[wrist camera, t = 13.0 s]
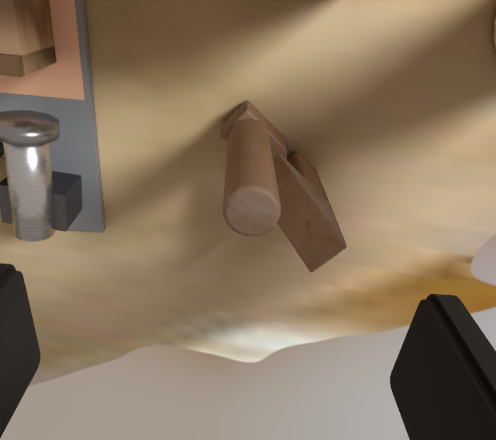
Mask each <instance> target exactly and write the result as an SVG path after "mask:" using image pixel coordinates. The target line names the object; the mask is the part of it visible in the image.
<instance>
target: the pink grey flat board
mask: <svg viewBox="0 0 496 440" xmlns="http://www.w3.org/2000/svg"><path fill="white" fill-rule="evenodd" d="M49 3H50V11H51V20H52V28H53V37H54V45H55V53H56V63H54V64H51V65H49V66H46V67H44V68H41V69H39V70H37V71H34V72H32V73H29V74H27V75H25V76H22V77H13V76H3V75H0V112H3V111H12V110H27V111H37V112H42V113H46V114H50V115H52V116H54V117H56V118H57V119H58V120H59V125H60V137H59V138H58V139H57V140H56V141H54V142H51V143H50V146H51V163H52V171H57V172H63V173H69V174H75V175H82V210H81V212H80V213H79V215H78V216H77V217H76V219H75V220H74V222H73V223H72V224H71V226H70V227H69V229H68V230H76V231H89V232H102V233H103V231H104V230H105V217H104V206H103V195H102V184H101V173H100V162H99V151H98V140H97V129H96V118H95V107H94V96H93V85H92V74H91V63H90V52H89V41H88V30H87V19H86V8H85V0H49ZM1 143H3V142H1ZM4 157H5V155H4Z"/></svg>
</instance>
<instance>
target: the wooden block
mask: <svg viewBox="0 0 496 440" xmlns="http://www.w3.org/2000/svg"><path fill="white" fill-rule="evenodd" d="M221 137H222V138H223V139H224V140H225V141H226V142H227V143H228V144H229V145H228V156H227V167H226V178H225V189H224V201H223V215H224V218H225V220H226V222H227V224H228V225H229V226H230V227H231V228H232V229H233V230H234V231H236V232H238V233H239V234H243V235H246V236H257V235H261V234H264V233H266V232H268V231H269V230H271V229H272V228H273V227H274V225H275V224H276V223H278V224H279V226H280V227H281V229H282V230H283V232H284V233H285V235H286V236H287V238H288V239H289V241H290V242H291V244H292V245H293V247H294V248H295V250H296V251H297V253H298V254H299V256H300V257H301V259H302V260H303V262H304V263H305V265H306V266H307V268H308V269H309V271H310V272H313V271H315V270H316V269H318V268H319V267H320V266H322V265H323V264H324V263H326V262H327V261H329V260H330V259H331V258H333V257H334V256H335V255H337V254H338V253H339V252H341V251H342V250H344V249H345V248H346V246H347V245H346V243H345V240H344V238H343V235H342V233H341V230H340V228H339V225H338V223H337V220H336V218H335V215H334V213H333V210H332V208H331V205H330V203H329V201H328V198H327V196H326V193H325V191H324V188H323V186H322V183H321V181H320V178H319V176H318V173H317V171H316V170H315V169H314V168H313V167H312V166H311V165H310V164H309V163H308V162H307V161H306V160H305V159H304V158H303V157H302V156H301V155H300V154H299V153H298V152H294V153H293V154H292V155H291V156H290V157H289V158H287V147H286V143H285V139H284V137H283V136H282V135H281V134H280V133H279V132H278V131H277V130H276V129H275V128H274V127H273V126H272V125H271V124H270V123H269V122H268V120H267V119H266V118H265V117H264V116H263V115H262V114H261V113H260V112H259V111H258V110H257V109H256V108H255V107H254V106H253V105H252V104H251V103H250V102H249V101H245V102H244V103H243V104H242V105H241V106H240V107H239V108H238V109H237V110H236V111H235V112H234V113H233V114H232V115H231V116H230V117H229V118H228V119H227V120H226V121H225V122H224V123H223V124H222V129H221Z"/></svg>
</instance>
